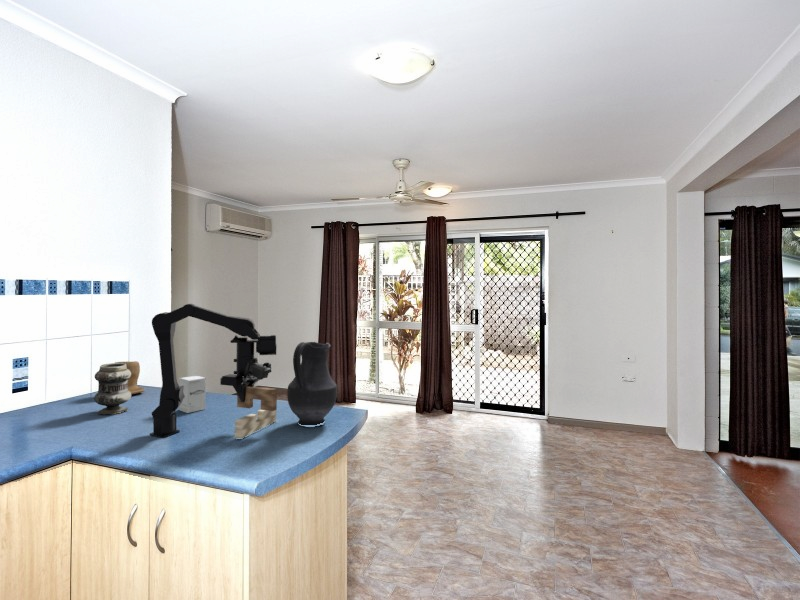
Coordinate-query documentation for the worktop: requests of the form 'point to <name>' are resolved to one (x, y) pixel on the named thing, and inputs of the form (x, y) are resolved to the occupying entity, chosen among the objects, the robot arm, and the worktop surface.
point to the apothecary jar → (112, 387)
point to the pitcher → (311, 384)
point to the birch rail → (253, 422)
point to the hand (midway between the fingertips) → (245, 401)
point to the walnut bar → (259, 398)
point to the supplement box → (193, 394)
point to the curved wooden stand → (133, 376)
